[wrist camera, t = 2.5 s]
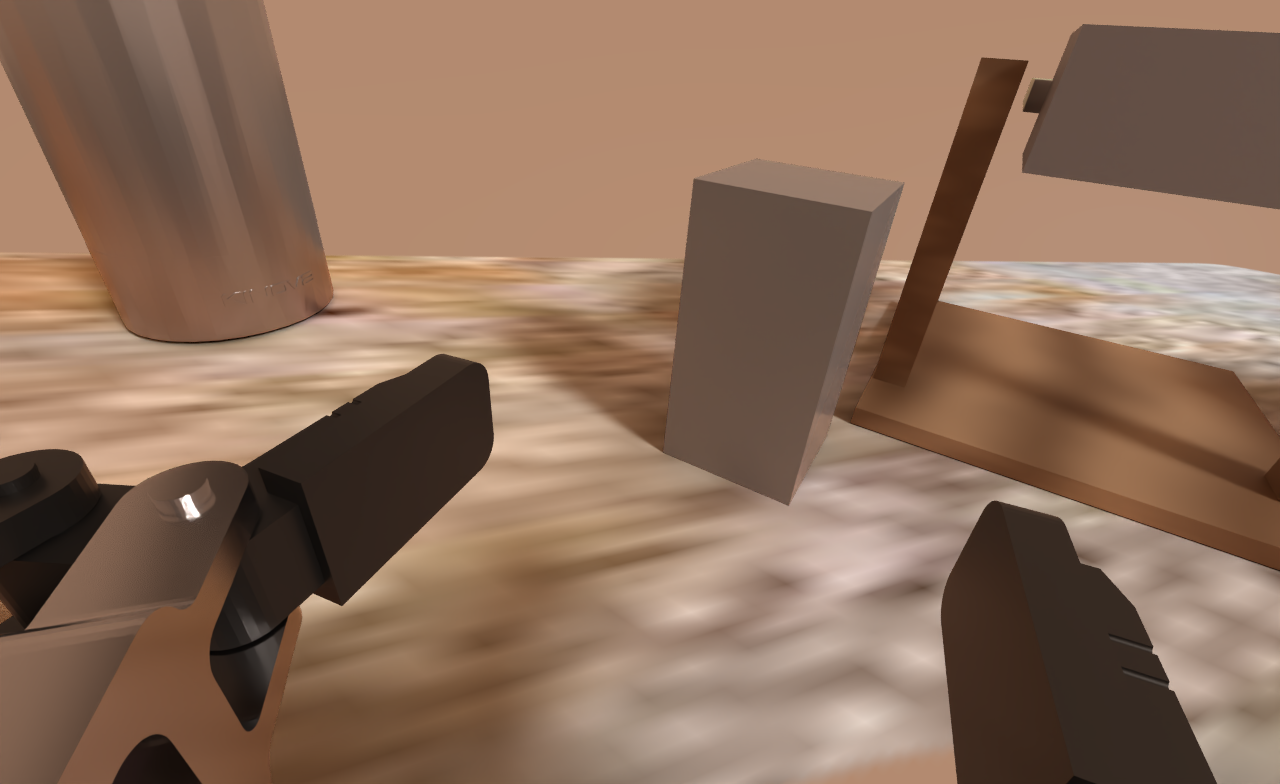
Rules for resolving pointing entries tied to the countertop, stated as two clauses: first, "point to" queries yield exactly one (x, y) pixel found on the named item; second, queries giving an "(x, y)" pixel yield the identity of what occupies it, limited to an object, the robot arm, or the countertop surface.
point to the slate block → (771, 316)
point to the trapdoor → (1162, 113)
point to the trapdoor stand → (1067, 388)
